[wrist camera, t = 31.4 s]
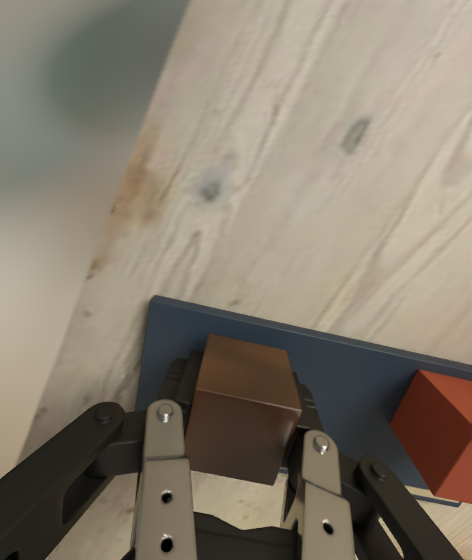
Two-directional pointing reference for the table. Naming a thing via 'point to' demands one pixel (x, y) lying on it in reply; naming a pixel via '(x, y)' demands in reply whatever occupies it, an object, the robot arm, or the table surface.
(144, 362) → the navy hardcover book
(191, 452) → the walnut block
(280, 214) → the table surface
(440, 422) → the rust block
